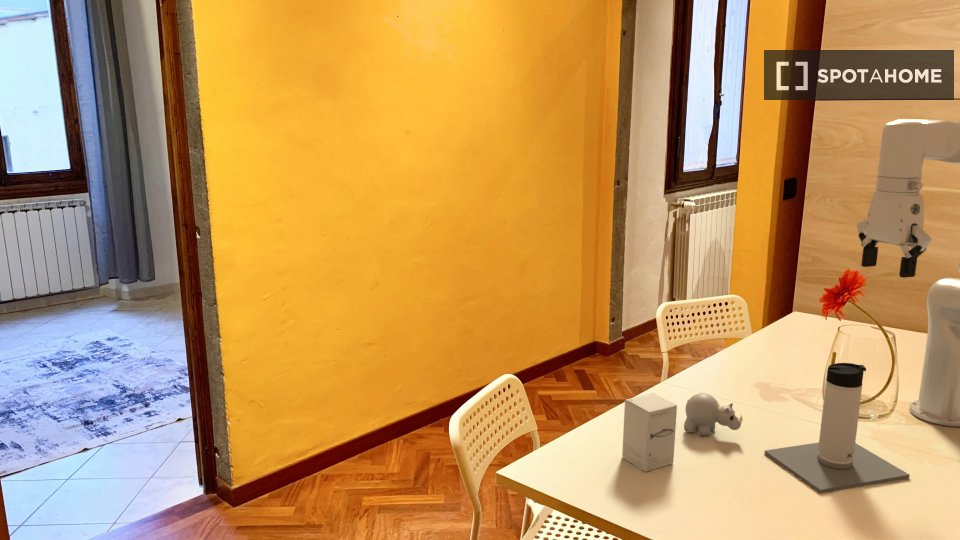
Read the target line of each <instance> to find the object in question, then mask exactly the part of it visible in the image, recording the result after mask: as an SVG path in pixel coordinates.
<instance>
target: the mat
mask: <svg viewBox="0 0 960 540" xmlns="http://www.w3.org/2000/svg"><path fill="white" fill-rule="evenodd" d="M818 447H819V441H818V442H813V443H806V444H799V445H792V446H786V447H780V448H772V449H767V450H764V453H763V454H764V455H765V456H767V457H768V458H769V459H770V460H772V461H773V462H775V463H776V464H777V465H779V466H780V467H782V468H783V469H784V470H785V471H787V472H789V473H790V474H791V475H793V476H794V477H796V478H797V479H799V480H800V481H801V482H803V483H804V484H805V485H807V486H808V487H810V488H811V489H813V490H814V491H815V492H817V493H818V494H827V493H833V492H838V491H843V490H849V489H854V488H855V489H856V488H861V487H862V488H863V487H868V486H871V485H872V486H874V485H878V484H885V483H892V482H896V481H897V482H898V481H903V480H909V479H910V473H908V472H906V471H904V470H902V469H900V468H899V467H898V466H896V465H894V464H892V463H890V462H888V461H887V460H885V459H883V458H882V457H880V456H878V455H877V454H875V453H873V452H871V451H870V450H868V449H866V448H865V447H863V446H861V445H859V444H858V443H856V442H855V449H854V457H853V465H852V466H851V467H850V468H847V469H835V468H831V467H828V466H825V465H823V464H822V463H820V462H819V460H818V458H817V456H818Z"/></svg>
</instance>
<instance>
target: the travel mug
mask: <svg viewBox="0 0 960 540" xmlns="http://www.w3.org/2000/svg"><path fill="white" fill-rule="evenodd" d="M864 372H867V368H866V367H865V365H864V364H856V363H853V362H838V363H832V364H830V365H828V366H827V369H826V378H825V385H824V394H823V405H822V413H821V420H820V421H821V423H820V432H819V438H818V439H819V440H818V442H819V447H818V456H817V458H818V460H819V462H820V463H822V464H823V465H825V466H828V467H831V468H835V469H847V468H850V467H851V466H852V465H853V457H854V449H855V443H856V441H857V432H858V423H859V414H860V407H861V399H862V390H863V378H864Z"/></svg>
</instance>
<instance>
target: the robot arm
mask: <svg viewBox="0 0 960 540" xmlns="http://www.w3.org/2000/svg"><path fill="white" fill-rule="evenodd" d="M881 131H882V132H881V138H880V149H879V155H878V156H879V157H878V165H877V176H876V183H875V189H874V191H873V193H872V196H871V199H870V203H869V207H868V211H867V217H866V219H865V220H862V221H860V222H858V223H857V224H856V229H857V232H858V238H859V240H860V242H861V243H860V247H862V257H861V267H864V268H868V267H876V266H877V261H878V253H879V246H877V245H878V244H879V243H882V244H883V243H884V244H887V245H892V246H895V247H900V249H901V251H902V254H903V255H904V256H902V257H901V260H900V267H899V278H904V279H905V278H914V277H915V276H916V271H917V263H918V258H920V257H921V256H922V254H923V253H924V252H926V250H927V247H928V246H929V245H930V243H931V242H932V237H931V236H930V235H929V234H928V233H927V232H926V231H924V223H925V222H924V221H925V219H924V218H925V208H924V207H925V206H924V198H923V195H922V194H920V190H922V189H923V187H924V185H923V183H922V181H921V180H922V173H923V166H924V160H930V161H931V160H933V161H938V162H943V163H944V162H945V163H951V164H959V165H960V121H952V120H947V119H926V118H925V119H924V118H920V119H919V118H917V119H916V118H915V119H914V118H899V119H896V120H893V121H889V122H887V123H886V124H884V126H883V128H882V130H881ZM957 270H958V272H959V274H960V259H959V261H958V264H957ZM926 307H927V308H926V309H927V318H928V319H927V321H928V324H927V334H926V335H927V336H926V344H925V349H924V356H923V357H924V358H923V365H922V372H921V380H920V386H919V393H918V400H914V401H912V402H910V403H909V409H908V410H909V412H910V413H911V414H912V415H913V416H914V417H916V418H919V419H921V420H923V421H925V422H929V423H933V424H936V425H941V426H945V427H947V426H948V427H960V278H955V277H945V278H941V279H938V280H937V281H934V283H933V284H931V286H930V288H929V289H928V292H927V297H926Z"/></svg>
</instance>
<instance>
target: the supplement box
mask: <svg viewBox="0 0 960 540" xmlns="http://www.w3.org/2000/svg"><path fill="white" fill-rule="evenodd" d="M677 410H678V404H676V403H673V402H671V401H670V400H668V399H665V398H664V397H662V396H659V395H657V394H655V393H649V394H644V395H640V396H635V397H632V398H631V397H630V398H627V399H624V412H623V413H624V415H623V435H622V437H623V438H622V451H621V452H622V458H623V459H625V460H626V461H627V462H630V463H631V464H632V465H633V466H635V467H636V468H639V469H640V470H641V471H643V473H646V472H648V471H651V470H655V469H658V468H662V467H666V466H668V465H673V464H674V456H675V446H676V445H675V443H676V442H675V441H676V440H675V439H676V429H677V428H676V426H677V425H676V424H677V415H678V414H677V413H678V411H677Z"/></svg>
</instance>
